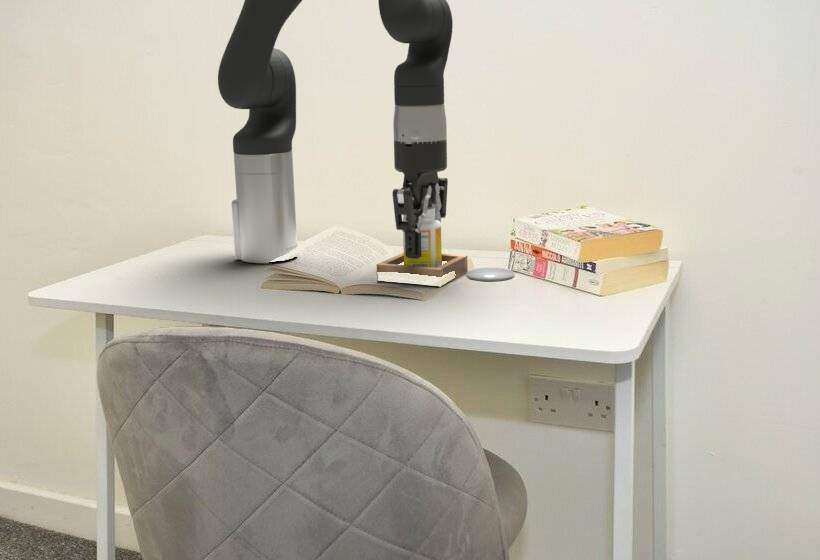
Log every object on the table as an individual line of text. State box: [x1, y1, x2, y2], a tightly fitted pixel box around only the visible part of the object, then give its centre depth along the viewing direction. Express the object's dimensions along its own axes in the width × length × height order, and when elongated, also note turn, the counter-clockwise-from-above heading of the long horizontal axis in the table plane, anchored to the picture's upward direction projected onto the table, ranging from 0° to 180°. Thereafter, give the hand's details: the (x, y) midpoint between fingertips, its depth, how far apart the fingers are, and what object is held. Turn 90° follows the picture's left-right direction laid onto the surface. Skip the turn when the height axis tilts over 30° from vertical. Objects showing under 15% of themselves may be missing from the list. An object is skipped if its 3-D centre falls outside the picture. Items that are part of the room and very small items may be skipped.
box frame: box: [376, 251, 469, 279], centre depth 140 cm, size 10×10×2 cm
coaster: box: [465, 267, 515, 282], centre depth 140 cm, size 7×7×1 cm
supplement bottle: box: [402, 207, 443, 268], centre depth 139 cm, size 6×6×10 cm
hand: (422, 253), depth 139 cm, fingers closed on supplement bottle, 5 cm apart
